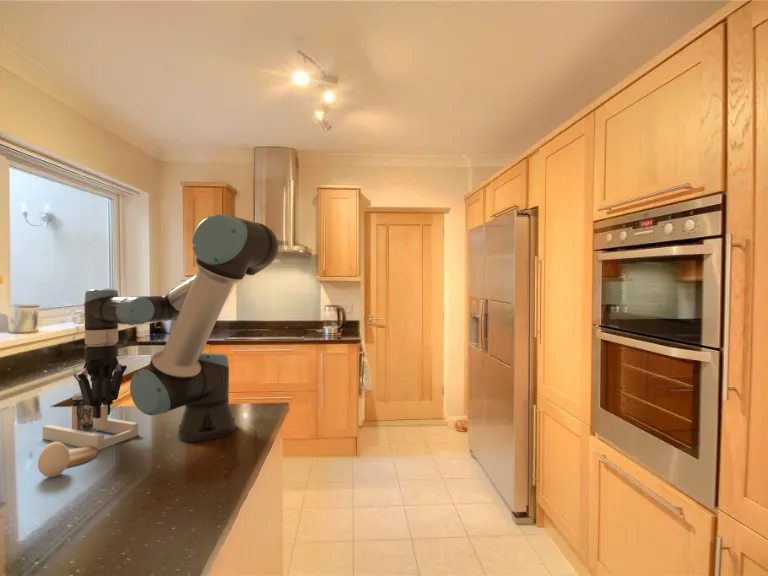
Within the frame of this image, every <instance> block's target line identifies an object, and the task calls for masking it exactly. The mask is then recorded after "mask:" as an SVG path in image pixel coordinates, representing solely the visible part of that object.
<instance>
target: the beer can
mask: <svg viewBox="0 0 768 576" xmlns="http://www.w3.org/2000/svg"><path fill="white" fill-rule="evenodd" d="M71 429H75V430H80V431H85V432H91V433H94V430H93V407H92V406H86V405H85V404H84V401H83V397H82V393H81V392H78V393H75V394H73V396H72V398H71Z"/></svg>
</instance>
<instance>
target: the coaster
mask: <svg viewBox="0 0 768 576" xmlns="http://www.w3.org/2000/svg"><path fill="white" fill-rule="evenodd" d="M68 451H69V456H70V459H69V463H68V465H67V467H66V468H70V467H74V466H77V465H81V464H84V463H86V462H89V461H90V460H93V459H94V458H95V457H96V456H97V455H98V450H97V449H96V448H92V447H76V448H70V449H68Z"/></svg>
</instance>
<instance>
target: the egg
mask: <svg viewBox="0 0 768 576" xmlns="http://www.w3.org/2000/svg"><path fill="white" fill-rule="evenodd" d="M68 450H69V449H68V448H67V446H66V444H65V443H61V442H55V441H52V442H50V443H48V444H47V445H45V446H44V448H43V449H42V451H41V452H40V454H39V457H38V460H37V467H38V471H39V473H40V474H41V475H42V476H43V477H47V478H55V477H57V476H59V475H60V474H61V475H62V473H63V472H64V471H65V470H66V469H67V468H68V467H67V465H68V463H69V459H70V456H69V451H68Z"/></svg>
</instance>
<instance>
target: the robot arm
mask: <svg viewBox="0 0 768 576" xmlns="http://www.w3.org/2000/svg"><path fill="white" fill-rule="evenodd" d="M191 243H192V244H193V245H194V246H192V249H193V253H194V255H195V256H196V257H195V259H194V263H195V265H196V266H197V269H198V270H197V272H196V274H195V275H194V276H192V277H191V278H189V279H187V280H186V281H184V282H182V283H181V284H180V285H178V286H177V287H175V288H174V289H172V290H170V291H168V292H167V293H165V294H163V295H150V296H149V295H148V296H147V295H146V296H140V295H139V296H137V295H136V296H131V295H130V296H119V292H118V290H117V289H88V290H86V291H85V294H84V295H85V296H84V303H83V305H84V306H83V307H84V344H85V345H86V346H85V347H84V360H85V363H84V365H83V369H82V370H80V371H79V372H76V373H74V374H73V377H74V378H75V380H77V382H78V386H79V390H80V393H82V397H83V401H84V404H85V405H86V406H92V407H93V418H96V429H100V430H103V429H106V428H108V418H109V416H110V414H111V405H112V404H114V401H116V400H118V398H119V393H120V389H121V385H122V382H123V376H124V373H125V372H126V370H127V365H124V364H121V363H119V359H118V356H119V345H118V344H117V343H118V342H119V325H128V326H134V325H136V326H137V325H143V324H146V323H147V324H148V323H154V322H166V321H167V322H169V321H175V322H174V324H173V326H172V329H171V331H170V333H169V335H168V338H167V340H166V343H165V345H164V347H163V348H162V349H163V350H160V351H158V352H155V353H154V354H153V356H152V358H151V361H150V362H149V364H148V367H147V368H145V369H144V368H143V369H140V370H138V371H136V372H135V373H134V374H133V375H132V377H131V379H130V383H129V393H130V396H131V399H132V402H133V404H134V405H135V407H136V408H137V409H138V411H140V412H141V413H143V414H144V415H148V416H156V415H161V414H166V413H168V412H170V411H174V410H176V409H178V408H182V407H184V410H183V413H182V417H181V421H180V424H179V425H178V427H177V428H178V429H177V438H178V440H180V441H183V442H188V443H190V442H191V443H197V442H199V443H200V442H208V441H212V440H213V441H214V440H217V439H221V438H223V437H225V436H228V435H230V434H231V433H234V431H235V430H236V420H235V417H234V416H233V413H232V409H231V406H230V402H229V399H230V398H229V395H230V393H229V390H230V389H229V386H230V385H229V383H230V382H229V381H230V365H229V358H228V356H227V355H226V354H224V353H216V352H214V353H213V352H212V353H211V352H203V351H204V349H205V347H206V345H207V342H208V341H209V338H210V336H211V334H212V331H213V329H214V326H215V325H216V323H217V321H218V318H219V316H220V314H221V312H222V309H223V307H224V305H225V303H226V301H227V299H228V297H229V294H230V292H231V290H232V288H233V286H234V283H236V282H240V281H242V280H243V279H244V277H245V276H255V275H256V274H258V273H259V272H261V271H263V270H265V269H267V267H269V266H270V265H271V264H272V263H273V262H274V261H275V259H276V257H277V256H278V253H279V242H278V238H277V236H276V234H275V232H274V231H273V230H272V229H271V228H270V227H268V226H267V225H265V224H262V223H260V222H254V221H251V220H248V219H244V218H242V217H236V216H235V215H228V214H213V215H211V216H208V217H205V218H204V219H203V220H202V221H201V222H200V223H199V224H198V225H197V226H196V228H195V230H194V232H193V236H192V240H191ZM90 382H91V384H90Z"/></svg>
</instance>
